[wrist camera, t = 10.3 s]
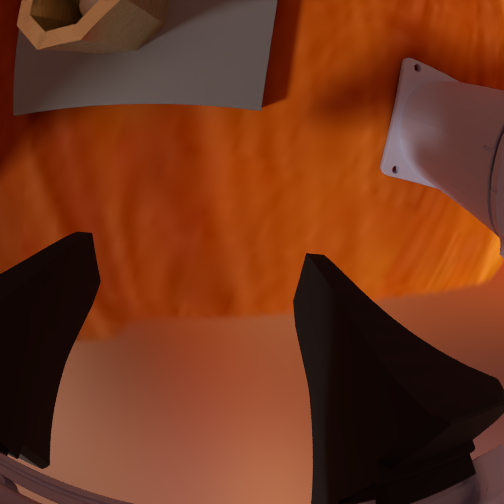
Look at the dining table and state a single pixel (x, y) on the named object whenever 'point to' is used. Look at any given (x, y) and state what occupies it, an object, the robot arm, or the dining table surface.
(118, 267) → the dining table surface
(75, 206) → the dining table surface
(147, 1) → the wooden collar
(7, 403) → the robot arm
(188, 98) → the pin board
